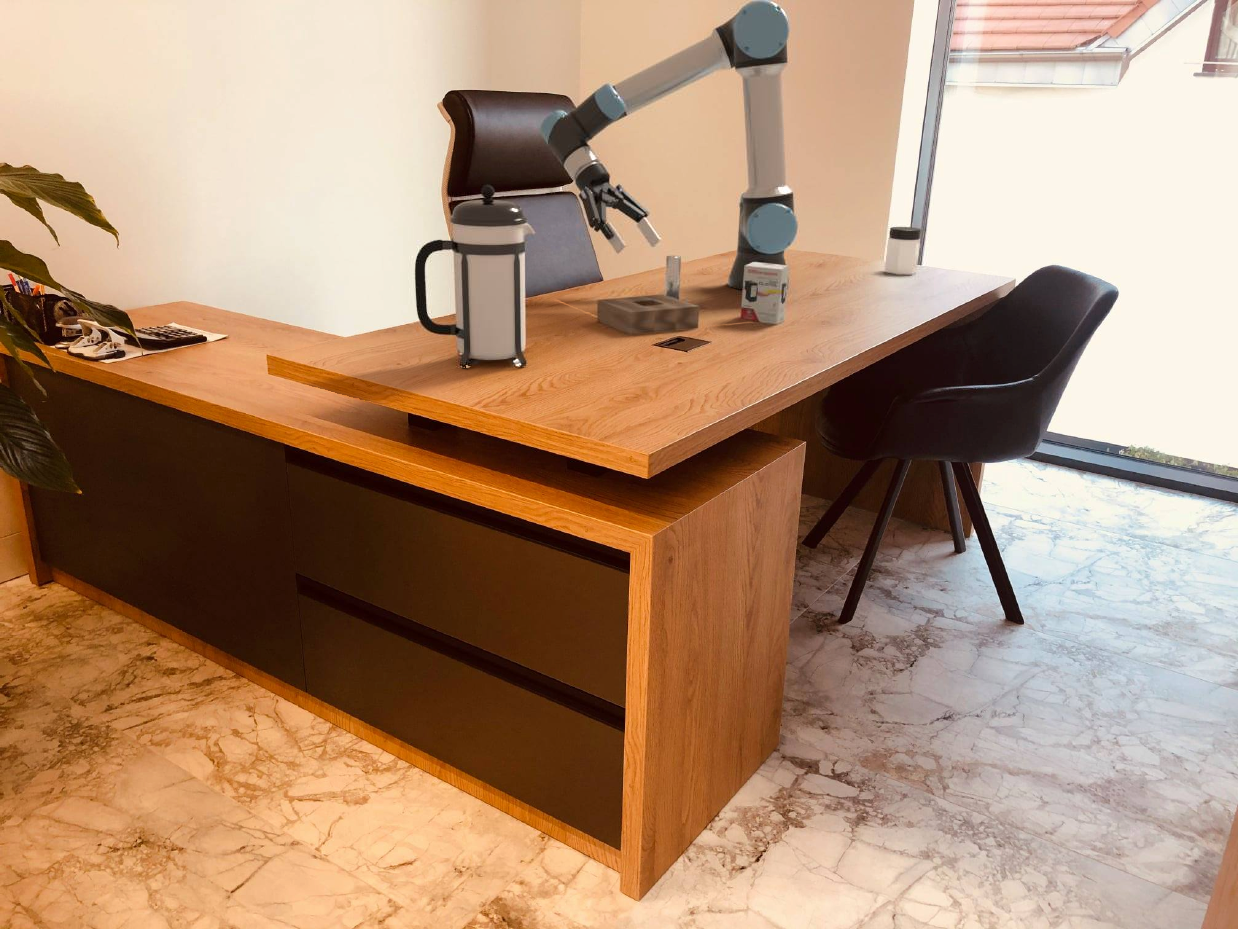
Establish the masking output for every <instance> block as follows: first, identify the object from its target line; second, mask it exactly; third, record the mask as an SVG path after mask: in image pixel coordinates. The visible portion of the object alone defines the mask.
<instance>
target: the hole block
mask: <svg viewBox="0 0 1238 929" xmlns="http://www.w3.org/2000/svg"><path fill="white" fill-rule="evenodd" d="M685 301H686V300H683V301H682V300H681V299H680V298H679V299H676V298H673V297H670V296H667V295H665V293H664V294H663V293H662V294H652V295H641V296H639V295H638V296H628V297H617V298H616V297H615V298H604V299H597V311H596V312H597V313H596V314H597V315H596V317H597V318H596V319H597V320H596V321H597V322H598V323H601V324H603V325H605V326H607V327H610V328H612V329H616V330H618V331H620V332H622V333H625V334H627V335H629V336H631V335H632V336H633V335H643V334H644V335H645V334H654V333H662V332H671V331H672V332H673V331H674V332H675V331H683V330H684V331H685V330H691V329H692V330H693V329H698V328H699V317H700V316H699V315H700V309H699V306H700V305H698V304H695V303H692V302H689V301H686V302H685ZM688 302H689V303H688ZM691 303H692V304H691ZM694 304H695V305H694ZM697 305H698V306H697Z"/></svg>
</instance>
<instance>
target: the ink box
mask: <svg viewBox="0 0 1238 929" xmlns="http://www.w3.org/2000/svg"><path fill="white" fill-rule="evenodd" d="M789 269H790V267H789V266H788V265H787V264H786V265H778V264H768V263H759V262H752V263H750V264H747V265H745V266H744V278H743V289H742V292H741V293H742V294H741V304H740V305H741V306H740V308H741V310H740V319H743V320H744V319H745V320H750V321H752V322H756V323H763V324H771V325H778V324H781V323H783V322H784V321H785V318H786V305H787V295H788V294H787V293H788V288H787V283H788V277H789V272H790V270H789Z"/></svg>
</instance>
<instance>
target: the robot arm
mask: <svg viewBox="0 0 1238 929" xmlns="http://www.w3.org/2000/svg"><path fill="white" fill-rule="evenodd" d="M789 34H790V23H789V19H788V16H787V14H786V12H785V10H783V9H782V7H781V6H780V5H779V4H777V3H775V2H773V1H771V0H753V1H750V2H748V3H746V4H745V5H744V6H742V8H740V9H739V11H738V12H737V13H736V14H735V15H734V16H732V17H731V18H730V19H728V20H727V21H726V22H724V23H723V24H720V25H719V26H718V27H715V28H713V29H712V32H711V34H710V35H709V36H707V37H706V38H703V39H702V40H700V41H697V42H696V43H694V44H691V45H689V46H688V47H686V48H684V49H682V50H680V51H678V52H676V53H675V54H673V55H671V56H668V57H667V58H665V59H662V60H660V61H659V62H657V63H655V64H653V65H651V66H649V67H647V68H645V69H643V70H641V71H639V72H637V73H635V74H633V75H631V76H629V77H627V78H625V79H624V80H622V81H619V82H618V83H615V84H614V85H612V84H611V83H605V84H603V85H602V86H601V87H599V88H597V89H596V90H595V91H594V92H593V93H592V94H591V95H590V96H588V97H587V98H586V99H585V100H583V101H582V102H581V103H580V104H579V105H578V106H577V107H576V108H574V109H573V110H572V111H571V112H569V113H567V112H566V111H564V110H561V109H558V110H555V111H553V113H549V114H548V115H546V117H544V119H543V120H542V122H541V123H540V128H539V130H540V132H539V133H540V134H541V136H542V137H543V139H544V141H545V142H546V144H547V146H548V147H549V149H550V151H551V152H552V153H553V155H554V156H556V158H557V160H558V161H559V162H560V164H561V165H562V167H563V168H564V169H565V171H566V172H567V173H568V176H569V177H570V178H571V180H573V182H574V183H575V186H576V188H578V190H579V192H580V193H578V197H579V199H580V201H581V202H582V205H583V208H584V212H585V215H586V218H587V221H588V225H589V227H590V228H591V229H593V230H594V231H595V232H596V233H598V232H600V231H601V234H602V235H603V236H604V238H605V239H606V240H607V242H608V243H609V244H610V245H611V247H612V249H614V251H615V253H616V254H620V253H621V252H622V251H623V250H624V249H625V248H626V247H627V244H626V243H625V241H624V240H623V239H622V237H621V235H620V233H618V231H617V230H616V228H615V227H614V226H613V224H612V223H611V221H608V222H607V220H608V219H607V208H612V209H613V210H618V211H619V212H621V213H623V214H624V215H625V216H626V217H628V218H630V219H631V220H633V221H634V222H635V223H637V224H636V227H637V228H638V229H639V231H640V232H641V234H642V235H643V236H644V238H645V240H647V242H648V244H649V245H650V247H651V248H655V247H656V245H657V244H658V243H659V242H661V241H662V238H661V237H660V236H659V234H658V233H657V232H656V230H655V229H654V227H653V225H652V224H651V223H650V221H649V220H648V218H647V217H648V216H650V211H649V210H647V208H645V207H644V206H643V205H642V204H641V203H640V202H639V201H637V200H636V199H635V198H634V197H633V196H632V195H630V193H629V192H627V190H626V189H625V188H624V187H623V186H622V185H621V183H619V184H617V185H616V186H615V187H614V186H613V185H612V184H611V183H610V178H611V175H610V173H609V172H608V170H607V169H606V167H605V166H604V164H603V163H601V160H600V158H599V157H598V156H597V155H596V153H595V152H594V151H593V148H591V146H590V145H589V143H588V142H590V141H591V140H592V139H593V138H595V137H596V136H597V135H599V134H600V133H601V132H602V131H604V130H605V129H606V128H607V127H609V126H611V125H612V124H614V123H616V122H618V121H619V120H620V121H621V119H624V118H625V117H627V116H629V115H631V114H634V113H635V112H637V111H639V110H641V109H643V108H646V107H647V106H650V105H651V104H653V103H656V102H657V101H659V100H661V99H663V98H665V97H668V96H670V95H671V94H673V93H675V92H677V91H679V90H681V89H683V88H685V87H688V86H689V85H691V84H693V83H695V82H697V81H700V80H701V79H703V78H705V77H708V76H709V75H711V74H713V73H715V72H718V71H720V70H721V69H724V68H725V69H728V70H731V69H733V68H734V71H735V72H736V73H737V74H738V75H740V76H741V78H742V92H743V109H744V110H743V112H744V113H743V114H744V125H745V126H744V127H745V128H744V129H745V144H746V146H745V148H746V162H747V179H748V180H747V181H748V188H747V189H746V191H745V192H743V193H741V196H740V199H739V200H740V201H739V203H738V205H739V206H738V207H739V214H738V216H739V217H738V219H739V220H738V232H737V247H736V248H737V249H736V250H737V251H736V256H735V260H734V261H733V265H732V268H731V270H730V272H729V275H728V281H727V282H728V284H727V285H728V287H730V288H734V289H738V290H743V278H744V266H745V265H747V264H750V263H752V262H759V263H768V264H778V265H786V266H787V264H786V260H785V250H786V249H788V248H789V247H790V246H791V245H792V244H793V242H794V241H795V239H796V236H797V233H798V226H799V225H798V219H797V216H796V215H795V214H796V213H795V204H794V203H795V201H794V190H793V189H792V188H791V187H790V186H789V185H788V184H787V175H786V153H785V149H786V148H785V131H784V130H785V129H784V108H783V107H784V106H783V89H782V88H783V86H782V73H783V71H784V70H785V69H786V67H787V66H788V64H789V63H788V45H787V44H788V39H789ZM789 285H790V278H789V276H788V283H787V289H788V288H790V286H789Z"/></svg>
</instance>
